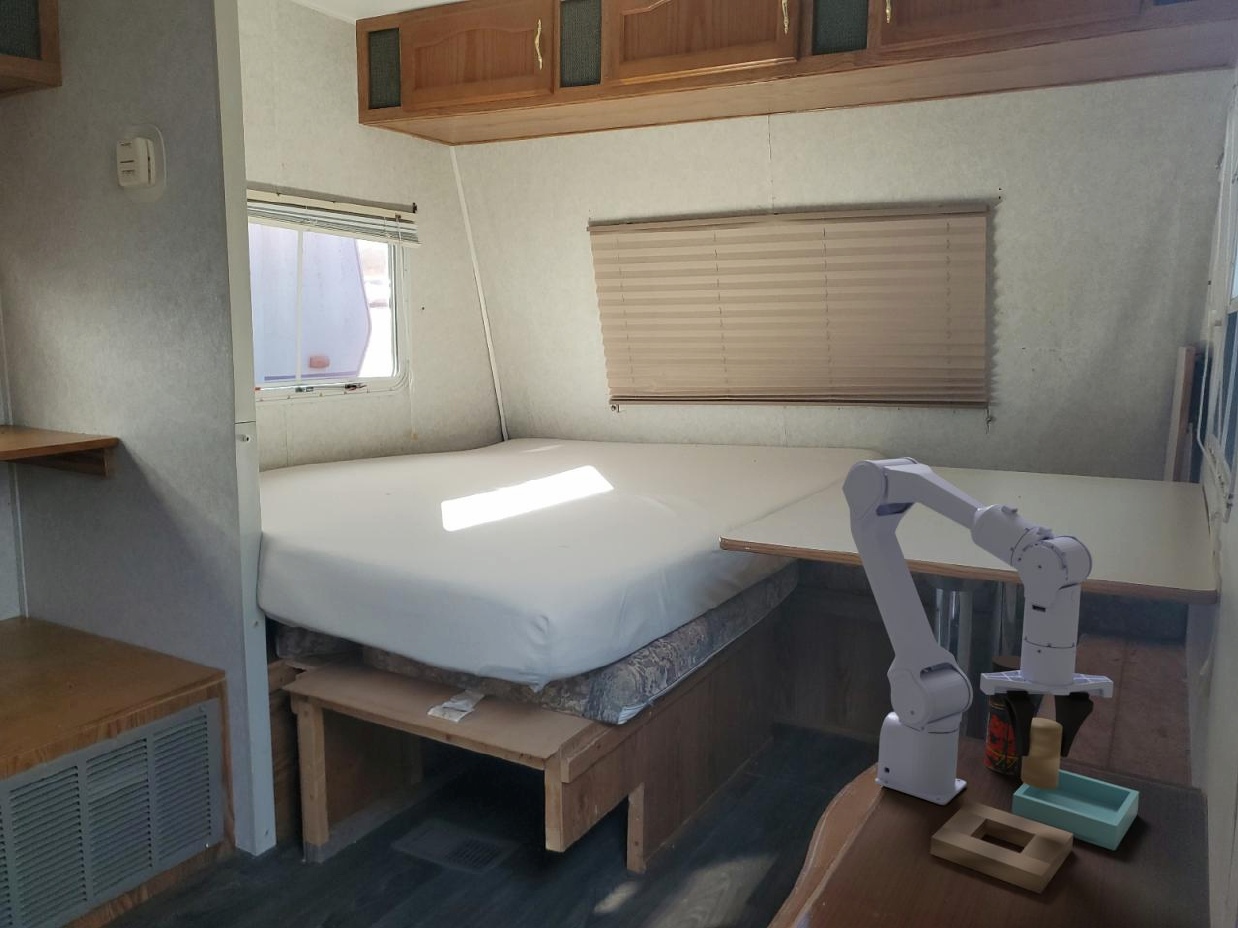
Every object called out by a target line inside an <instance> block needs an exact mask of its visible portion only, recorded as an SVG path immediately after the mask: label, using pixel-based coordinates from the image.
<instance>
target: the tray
mask: <svg viewBox="0 0 1238 928" xmlns="http://www.w3.org/2000/svg"><path fill="white" fill-rule="evenodd" d="M1139 796H1140V791H1139V790H1135V789H1130V788H1127V787H1124V786H1120V785H1116V784H1113V783H1111V782H1106V781H1102V780H1099V779H1095V778H1091V777H1088V776H1085V775H1082V774H1078V773H1075V772H1070V771H1068V770H1063V769H1060V768H1059V778H1058V786H1057V787H1056V788H1054V789H1040V788H1036V787H1032V786H1030V785H1027V784H1025V783H1024V782H1022V785H1021V786H1020V787H1019V788H1018V789H1017V790H1016V791H1015V792H1014V793H1013V795H1012V805H1011V807H1012V808H1011V814H1014V815H1017V816H1020V817H1023V818H1026V819H1029V820H1033V821H1036V822H1039V823H1042V824H1045V825H1048V826H1051V827H1054V828H1057V829H1061V830H1064V831H1067V832H1070V833H1073V839H1074V838H1075V839H1077V840H1081V841H1084V842H1087V843H1090V844H1093V845H1096V846H1099V847H1103V848H1106V849H1109V850H1111V851H1114V852H1115V851H1116V850H1117V848H1118V847H1119V845H1120V844H1121V841H1122V840H1123V838H1124V837H1125V835H1126V833H1127V832H1128V830H1129V829H1130V827H1131V825H1132V824H1133V822H1134V820H1135V819H1136V817H1137V815H1138V812H1139V811H1138V809H1139V798H1140V797H1139Z"/></svg>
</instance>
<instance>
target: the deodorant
mask: <svg viewBox="0 0 1238 928" xmlns="http://www.w3.org/2000/svg"><path fill="white" fill-rule="evenodd" d="M1020 667H1021V656H1020V655H1019V656H1018V655H1009V654H1006V655H1005V654H1000V655H994V656H993V657H992V659H991V670H990V672H991V673H1000V672H1008V671H1017V670H1020ZM1037 695H1038V694H1028V697H1030V702H1031V703H1032V704H1034V705H1035V706H1036V705H1037ZM988 699H989V700H988V712H987V713H988V715H987V725H986V729H987V730H986V741H985V753H984V754H985V755H984V756H985V757H984V764H985V766H986V767H987V768H988V769H989V770H991V771H993V772H995V773H999V774H1002V775H1005V776H1011V777H1012V776H1013V777H1015V776H1016V777H1021V769H1022V756H1021V755H1020V754H1019V753H1018V752H1017V751H1016V750H1015V742H1014V736H1013V731H1012V727H1011V723H1010V719H1009V716H1008V713H1007V711H1006V708H1005V706H1004V703H1003V701H1002V699H1001V697H1000V695H999V693H995V694H994V695H989V698H988ZM1033 718H1036V711H1035V712H1034V715H1033Z"/></svg>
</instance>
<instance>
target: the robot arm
mask: <svg viewBox="0 0 1238 928" xmlns="http://www.w3.org/2000/svg"><path fill="white" fill-rule="evenodd" d="M841 488H842V492H843V495H844V497H845V500H846V503H847V505H848V509H849V520H850V521H849V522H850V525H849V526H850V531H851V532H850V533H851V535H852V538H853V541H854V543H855V547H856V549H857V552H858V555H859V557H860V560H861V563H862V566H863V568H864V569H863V570H864V571H865V574H866V577H867V580H868V582H869V585H870V588H871V590H872V591H871V592H872V593H873V596H874V599H875V603H876V605H877V607H878V610H879V613H880V615H881V618H882V622H883V624H884V626H885V627H884V628H885V629H886V632H887V635H888V638H889V639H890V640H889V641H890V643H891V645H892V649H893V651H894V654H895V655H894V656H895V657H894V659H893V661H892V662H891V665H890V666H889V669H888V671H887V674H886V676H887V678H888V680H889V684H890V686H889V687H890V701H891V702H890V703H891V706H892V709H893V711H891V712H889V713H888V714H887V715H886V717H885V718H884V720H883V723H882V724H881V725H882V726H881V728H880V734H879V744H878V745H879V748H878V763H877V764H878V766H877V777H876V778H875V780H874V783H875V784H877V785H880V786H883V787H887V788H889V789H892V790H896V791H898V792H901V793H905V794H907V795H910V796H913V797H916V798H919V799H921V800H922V799H923V800H926V801H928V802H932V803H935V804H937V805H941V806H945V805H947V804H948V803H949V802H950V801H951V800H952V799H953V798H954V797H955V796H956V795H958V794H959V793H960V792H961V791H962V790H963V789H964V788H965V787H966V786H967V781H966V780H963V779H961V778H957V766H958V765H957V764H958V753H959V752H958V751H959V750H958V749H959V735H960V734H959V733H960V722H962V721H963V720H962V717H963V713H964V712H966V711H967V710H968V709H969V708H970V707H971V705H972V703H973V698H974V690H973V687H972V686H973V685H972V684H971V681H970V679H969V677H967V675H966V674H965V672H964V671H963V670H962V669H961V668H960V667H959V665H958V664H957V660H956V659H955V658H956V657H955V656H954V655H953V653H952V652H950V651H948V650H947V649H946V648H945V647H942V645H939V644H938V643H937V641H936V640H937V639H936V638H935V636H934V635H935V634H934V633H933V630H932V628H931V625H930V623H929V620H928V618H927V613H926V611H925V608H924V606H923V604H922V601H921V598H920V595H919V593H918V590H917V588H916V585H915V582H914V579H913V577H912V573H911V572H910V569H909V566H908V564H907V560H906V559H905V556H904V553H903V551H902V548H901V544H900V542H899V540H898V538H897V534H896V530H897V529H898V526H899V524H900V522H901V521H902V519H903V518H904V517H905V515H907V513H909V511H910V510H911V509H912V507H913V506H915V504H916V503H918V504H921V505H922V506H925V507H927V508H928V509H931V510H932V511H934V512H936V513H938V514H940V515H942V516H944V517H945V518H948V519H949V520H951V521H953V522H955V523H957V524H959V525H961V526H962V527H964V528H966V529H968V530H969V531H970V535H971V540H972V542H973V544H975V545H976V546H977V547H979V548H981V549H982V550H984V551H986V552H988V553H989V554H991V555H992V556H993V557H996V558H997V559H999V560H1000V561H1003V562H1004V563H1005V564H1007V565H1008V566H1010V567H1011V568H1013V569H1015V570H1016V571H1017V574H1018V577H1019V579H1020V580H1021V582H1022V584H1023V586H1024V587H1023V588H1024V592H1023V597H1024V611H1023V613H1024V614H1023V625H1022V626H1023V628H1022V641H1021V653H1020V655H1021V656H1020V657H1021V667H1020V670H1017V671H1008V672H1000V673H988V672H985V673H983V672H982V673H980V682H979V683H980V684H979V689H980V690H981V691H982V692H983V694H985V695H987V696H988V695H989V696H990V695H994V694H995V693H999V695H1000V697H1001V699H1002V701H1003V703H1004V706H1005V708H1006V711H1007V713H1008V716H1009V719H1010V723H1011V727H1012V731H1013V736H1014V742H1015V750H1016V751H1017V752H1018V753H1019V754H1020V755H1021V756H1028V753H1029V746H1030V729H1031V724H1032V719H1033V715H1034V712H1035V713H1036V708H1037V707H1036V706H1035V705H1034V704H1032V703H1031V702H1030V697H1028V694H1037V695H1053V696H1054V707H1055V710H1054V711H1055V722H1057V723H1059V724H1061V725H1062V740H1061V753H1060V758H1068V757H1069V753H1070V751H1071V747H1072V745H1073V743H1074V740H1075V738H1076V736H1077V734H1078V732H1079V730H1080V729H1081V726H1082V725H1083V724H1084V722H1085V721H1086V719H1087V718H1088V717H1089V716H1090V715H1091V714H1092V712H1093V710H1094V707H1095V706H1094V705H1095V704H1094V701H1092V700H1091V699H1090V696H1100V697H1102V698H1105V699H1106V698H1109V699H1110V698H1111V699H1112V698H1113V691H1114V681H1113V680H1111V679H1110V678H1108V677H1107V676H1105V675H1091V674H1084V673H1083V674H1082V673H1075V671H1076V670H1075V669H1076V657H1077V656H1076V655H1077V643H1078V642H1077V641H1078V631H1079V618H1080V604H1081V592H1082V591H1081V588H1082V584H1081V583H1083V582H1084V581H1086V580H1087V579H1088V578H1089V576H1090V574H1091V573H1092V569H1093V558H1092V557H1093V556H1092V554H1091V552H1090V550H1089V549H1088V546H1087V545H1085V543H1084V542H1082V541H1080V540H1079V539H1078V538H1077V537H1076V536H1075V535H1071V534H1061V535H1057V536H1056V535H1054V533H1052V532H1053V529H1052V528H1051V527H1048V525H1041V526H1040V525H1039V524H1036V523H1034V522H1033V521H1032V520H1029V519H1027V518H1026V517H1024V516H1023V515H1021V514H1019V513H1018V511H1019V508H1018V507H1016V506H1014V505H1013V504H1011V503H1009V504H1003V505H1002V504H1001V503H995V504H991V505H988V506H986V505H983V504H982V503H981V502H979V501H978V500H977V499H975V498H973V497H971V496H970V495H969V494H967V493H966V492H964V491H962V490H961V489H960V488H958V487H956V486H954V485H953V484H952V483H951V482H949V481H947V480H945V479H944V478H943V477H941V476H940V475H938V474H936V473H935V472H934V471H933V469H932V468H931V467H930V466H929V465H927V464H924V463H920V462H919V461H918V460H916V459H914V458H912V457H907V456H905V457H903V456H901V457H900V458H890V459H878V460H877V459H876V460H870V459H869V460H868V459H864V460H863V459H862V460H859V461H857V462H855V463H854V464H853V465H851V467H850V469H849V471H848V472H847V474H846V477H845V479H844V482H843V485H842V487H841ZM922 671H924V672H922ZM921 672H922V673H921Z"/></svg>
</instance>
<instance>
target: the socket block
mask: <svg viewBox="0 0 1238 928" xmlns="http://www.w3.org/2000/svg"><path fill="white" fill-rule="evenodd" d="M985 835H987V836H990V837H993V838H996V839H999V840H1001V841H1005V842H1007V843H1010V844H1012V845H1016V846H1018V847H1021V848H1024V849H1022V851H1020V852H1018V851H1015V850H1011V849H1009V848H1005V847H1002V846H999V845H997V844H993V843H991V842H987V841H985V840H982V838H983V837H984V836H985ZM1073 841H1074V837H1073V833H1070V832H1067V831H1064V830H1061V829H1057V828H1054V827H1051V826H1048V825H1045V824H1042V823H1039V822H1036V821H1033V820H1029V819H1026V818H1023V817H1020V816H1017V815H1014V814H1012V812H1011V813H1010V812H1007V811H1005V810H1001V809H998V808H994V807H992V806H989V805H986V804H982V803H979V802H976V801H974V800H968V801H966V803H964V805H962V807H961V808H959V810H958V811H956V812H955V814H953V816H951V817H950V819H948V820H947V821H946V822H945V823H944V824H943V825H942V826H941V827H940V828H939V829H938V830H937V831H936V832H935V833H933V835H932V836H931V837H930V850H929V851H930V852H929V854H930V855H933V856H936V857H939V858H941V859H944V860H947V861H948V862H949V861H950V862H952V863H955V864H957V865H960V866H963V867H966V868H969V869H971V870H974V871H977V872H978V873H979V872H980V873H982V874H984V875H987V876H991V877H993V878H996V879H999V880H1001V881H1004V882H1005V883H1006V882H1007V883H1010V884H1012V885H1014V886H1017V887H1020V888H1022V889H1025V890H1028V891H1030V892H1034V893H1037V894H1040V895H1041V894H1042V893H1043V892H1044V890H1045V889H1046V887H1047V886H1048V884H1049V883H1050V881H1051V880H1052V878H1053V877H1054V876H1055V875H1056V873H1057V872H1058V871H1059V869H1060V867H1061V866H1062V864H1063V863H1064V862H1065V861H1066V859H1067V858H1068V856H1069V855H1070V853H1071V852H1072V851H1073Z"/></svg>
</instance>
